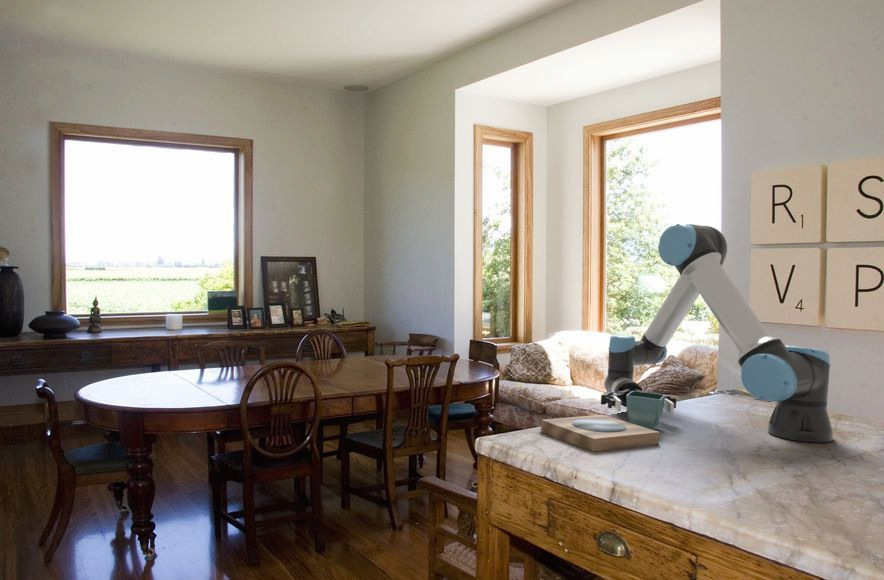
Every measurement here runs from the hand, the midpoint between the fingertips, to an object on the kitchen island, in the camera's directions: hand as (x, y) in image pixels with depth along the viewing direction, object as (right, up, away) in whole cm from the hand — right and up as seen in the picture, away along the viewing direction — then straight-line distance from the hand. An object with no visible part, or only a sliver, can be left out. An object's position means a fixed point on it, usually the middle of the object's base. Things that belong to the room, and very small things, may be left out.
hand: (645, 407), depth 181 cm
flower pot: (0, -6, +2) cm, 6 cm away
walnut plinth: (-15, -6, -11) cm, 19 cm away
